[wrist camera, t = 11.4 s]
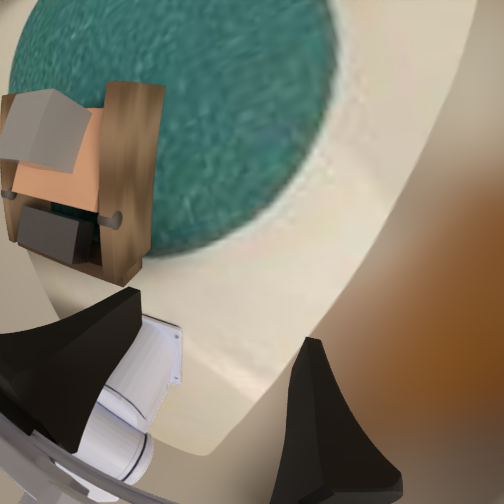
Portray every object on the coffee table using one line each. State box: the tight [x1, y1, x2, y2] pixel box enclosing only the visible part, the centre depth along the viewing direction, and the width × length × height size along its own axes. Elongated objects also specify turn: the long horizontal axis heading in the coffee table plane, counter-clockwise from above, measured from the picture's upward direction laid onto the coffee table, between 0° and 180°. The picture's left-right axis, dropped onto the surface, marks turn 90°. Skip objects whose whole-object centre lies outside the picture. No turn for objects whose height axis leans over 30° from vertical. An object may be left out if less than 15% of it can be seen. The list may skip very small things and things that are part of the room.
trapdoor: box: [12, 108, 104, 265], centre depth 18 cm, size 11×10×2 cm
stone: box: [0, 88, 92, 174], centre depth 14 cm, size 4×4×4 cm
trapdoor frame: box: [0, 81, 166, 287], centre depth 18 cm, size 14×13×6 cm
